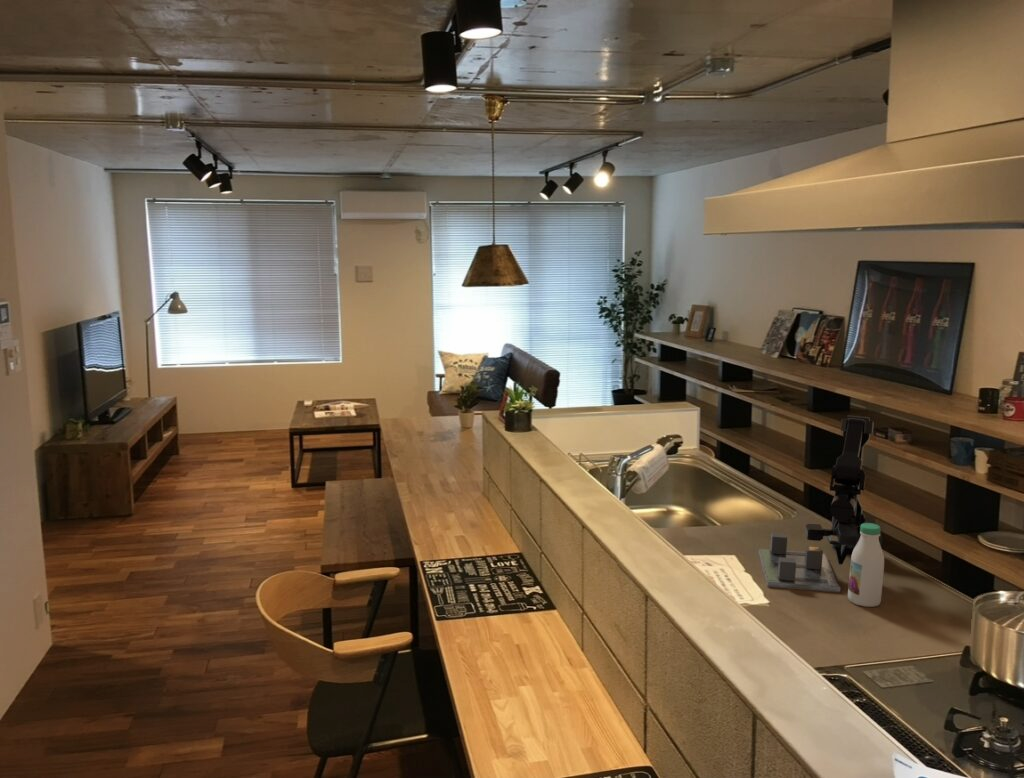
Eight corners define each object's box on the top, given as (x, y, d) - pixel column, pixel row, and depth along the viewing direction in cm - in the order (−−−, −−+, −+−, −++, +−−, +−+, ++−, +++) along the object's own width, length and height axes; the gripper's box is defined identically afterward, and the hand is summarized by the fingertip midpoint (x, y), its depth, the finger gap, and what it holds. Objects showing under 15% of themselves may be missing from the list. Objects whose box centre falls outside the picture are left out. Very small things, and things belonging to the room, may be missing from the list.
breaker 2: (793, 576, 222) (794, 558, 221) (794, 580, 219) (796, 562, 218) (777, 574, 223) (778, 557, 222) (779, 579, 220) (780, 561, 219)
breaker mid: (819, 565, 229) (821, 547, 228) (821, 569, 227) (822, 551, 226) (804, 563, 230) (805, 546, 229) (805, 568, 227) (807, 550, 226)
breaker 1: (784, 550, 240) (785, 533, 239) (786, 554, 237) (787, 537, 236) (770, 549, 240) (771, 532, 239) (771, 553, 237) (772, 536, 236)
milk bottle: (881, 597, 213) (888, 523, 209) (880, 610, 206) (887, 533, 202) (848, 592, 216) (854, 518, 213) (846, 604, 210) (852, 528, 206)
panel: (824, 557, 238) (824, 552, 238) (839, 592, 216) (840, 587, 216) (758, 553, 242) (759, 548, 241) (767, 586, 219) (767, 581, 219)
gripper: (812, 517, 218) (808, 573, 221) (889, 521, 214) (884, 579, 217) (806, 503, 228) (802, 557, 232) (879, 507, 225) (874, 562, 228)
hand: (840, 564), depth 227 cm, fingers closed
